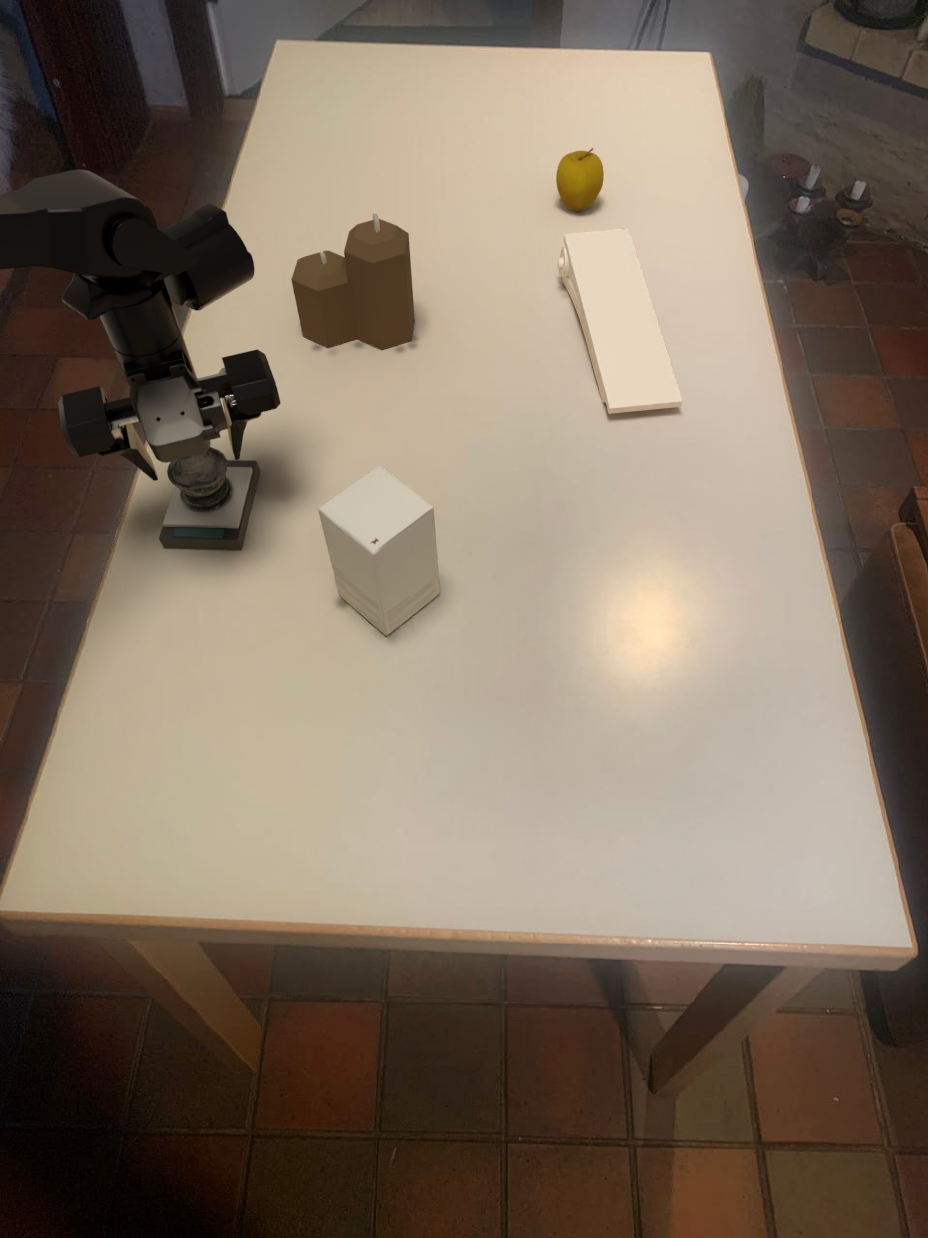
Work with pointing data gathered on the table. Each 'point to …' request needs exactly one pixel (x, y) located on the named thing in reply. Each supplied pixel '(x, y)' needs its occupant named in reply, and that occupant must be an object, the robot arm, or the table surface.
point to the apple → (579, 179)
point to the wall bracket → (618, 321)
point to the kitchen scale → (213, 515)
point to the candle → (358, 289)
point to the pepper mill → (201, 480)
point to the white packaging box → (382, 548)
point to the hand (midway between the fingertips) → (196, 467)
